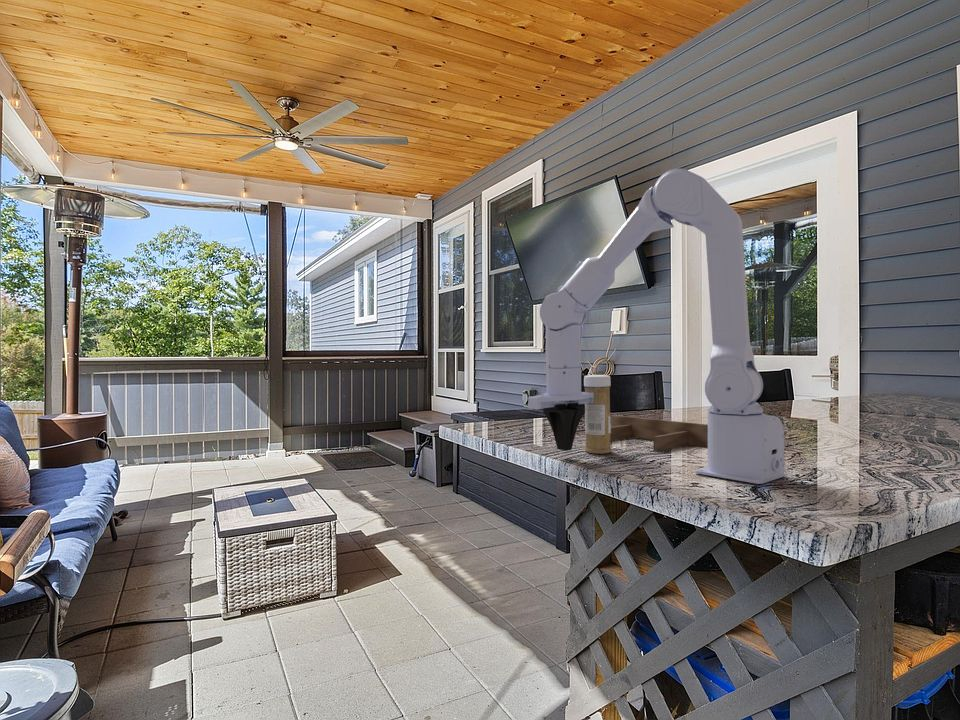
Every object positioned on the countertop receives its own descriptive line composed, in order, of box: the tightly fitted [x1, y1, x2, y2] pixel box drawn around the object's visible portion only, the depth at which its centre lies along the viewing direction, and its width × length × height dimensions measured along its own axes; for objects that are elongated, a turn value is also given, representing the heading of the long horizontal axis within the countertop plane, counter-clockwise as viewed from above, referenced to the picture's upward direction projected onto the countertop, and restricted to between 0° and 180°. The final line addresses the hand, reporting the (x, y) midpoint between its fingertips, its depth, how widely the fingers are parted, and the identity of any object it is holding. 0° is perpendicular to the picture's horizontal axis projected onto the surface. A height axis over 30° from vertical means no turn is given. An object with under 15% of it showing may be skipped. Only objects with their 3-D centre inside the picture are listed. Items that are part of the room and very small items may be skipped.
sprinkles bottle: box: [583, 374, 612, 455], centre depth 102 cm, size 5×5×14 cm
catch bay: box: [610, 414, 708, 452], centre depth 111 cm, size 22×11×4 cm, turn 39°
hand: (564, 449), depth 97 cm, fingers closed
